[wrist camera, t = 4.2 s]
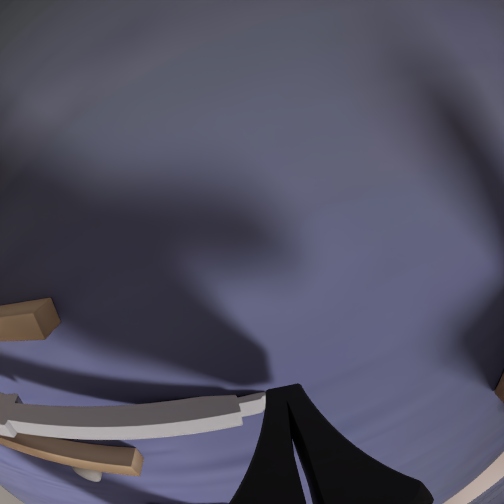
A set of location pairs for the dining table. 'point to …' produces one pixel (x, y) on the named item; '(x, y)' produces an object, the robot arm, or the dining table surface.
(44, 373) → the dining table surface
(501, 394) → the brown wooden frame
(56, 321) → the rails
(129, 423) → the caliper
